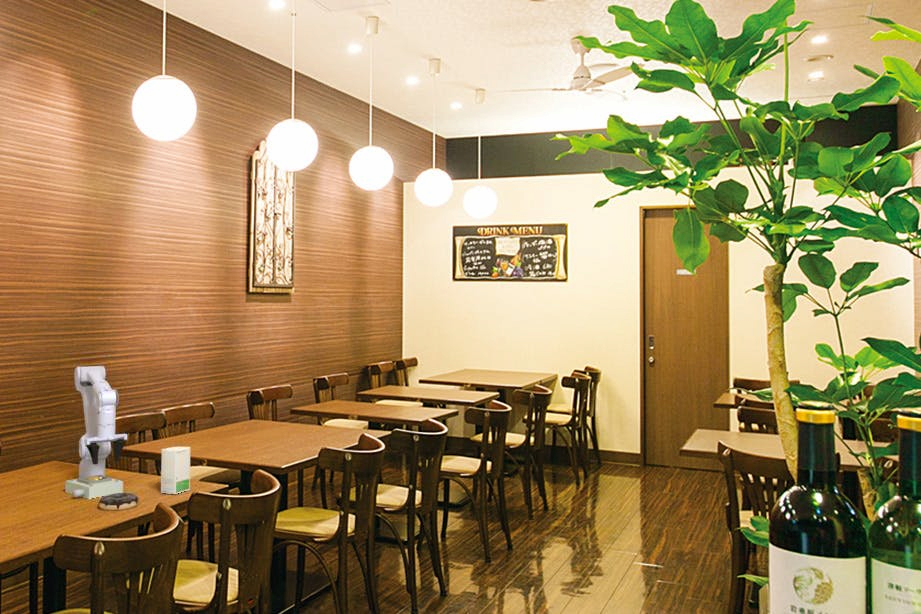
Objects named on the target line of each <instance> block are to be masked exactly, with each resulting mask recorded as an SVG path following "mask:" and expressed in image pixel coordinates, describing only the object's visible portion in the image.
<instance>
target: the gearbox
mask: <svg viewBox="0 0 921 614" xmlns="http://www.w3.org/2000/svg"><path fill="white" fill-rule="evenodd" d="M95 476H97V475H95ZM89 477H92V476H89ZM102 477H103V479H100V480H94V481H89V480H88V477H83V478H79V477H78V478H75V479H74V478H73V479H69V480H65V485H64V486H65V487H64V488H65V493H66V492H67V494H69V493H70V495H72V497H73V498H74V499H75V498H83V499H86V498H87V499H86V500H93V499H92V498H94V499H97V498H96V497H99V498H102V496H106V495H110V494H115V493H124V481H123V480H119V479H116V478H113V477H110V476H106V475H105V476H103V475H102ZM80 496H81V497H80Z"/></svg>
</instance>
